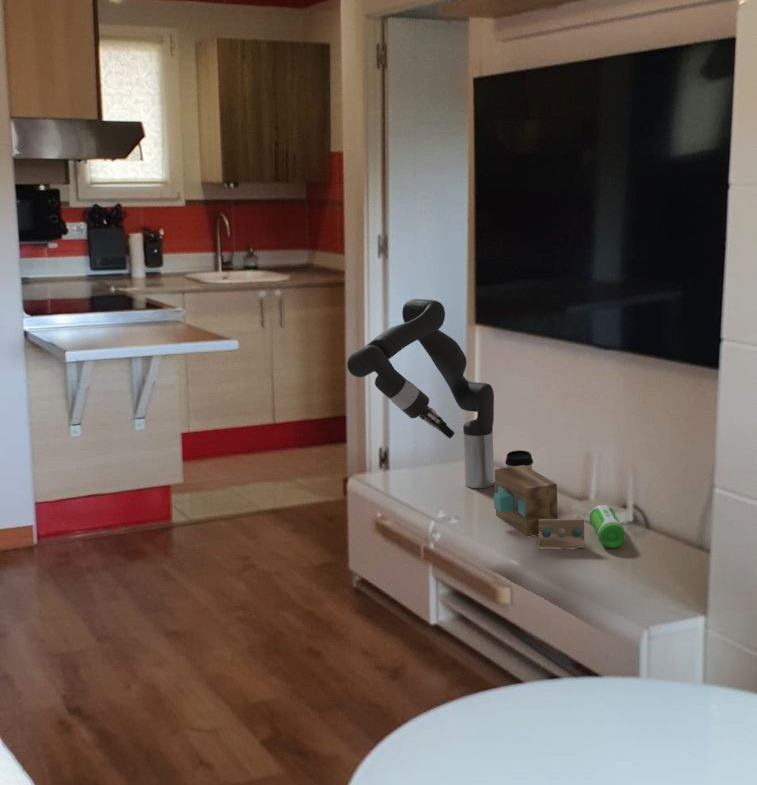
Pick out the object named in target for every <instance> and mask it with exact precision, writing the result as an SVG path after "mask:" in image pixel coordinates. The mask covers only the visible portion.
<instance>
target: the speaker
mask: <svg viewBox="0 0 757 785" xmlns="http://www.w3.org/2000/svg"><path fill="white" fill-rule="evenodd" d="M589 523H590V525H591V527H592V528H593V530H594V532H595V534H596V536H597V540H598V541H599V542H600V543H601V545H603V546H604V547H607V548H611V549H614V548H618V547H620V546H621V545H622V544H623V543H624V540H625V537H626V531H625V530H626V529H625V527H624V526H623V525H622V523H621V522H620V520H619V519H618V517H617V515H616V512H615V511H614V509H613V508H612V507H610V506H609V505H606V504H598V505H596V506H594V507H593V508H592V509H591V511H590V513H589Z"/></svg>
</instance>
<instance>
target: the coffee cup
mask: <svg viewBox="0 0 757 785" xmlns="http://www.w3.org/2000/svg"><path fill="white" fill-rule="evenodd" d="M504 463H505V465H506V468H508V467H514V466H521V465H525V466H527V467H528V468H530V469H532V470H533V463H534V460H533V457H532V453H531V452H530V451H527V450H519V449H518V450H512V451H509V452H508V453H507V454H506V458H505V462H504Z"/></svg>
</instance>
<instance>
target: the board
mask: <svg viewBox="0 0 757 785" xmlns="http://www.w3.org/2000/svg"><path fill="white" fill-rule="evenodd" d="M538 547H539V548H543V549H542V550H559V549H558V548H585V518H558V519H539V535H538ZM539 548H538V549H539ZM585 549H586V548H585Z"/></svg>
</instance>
